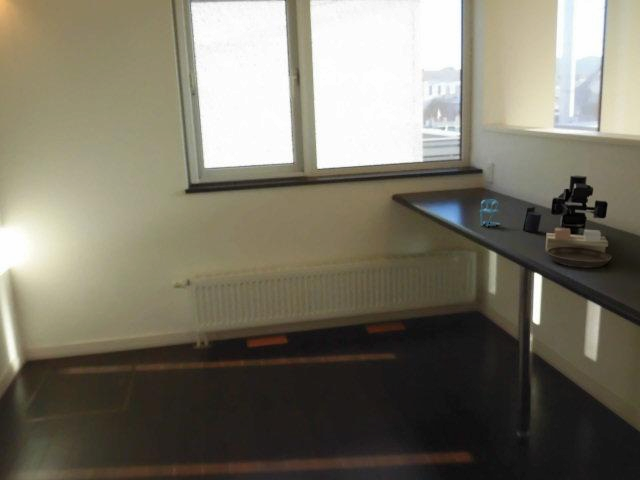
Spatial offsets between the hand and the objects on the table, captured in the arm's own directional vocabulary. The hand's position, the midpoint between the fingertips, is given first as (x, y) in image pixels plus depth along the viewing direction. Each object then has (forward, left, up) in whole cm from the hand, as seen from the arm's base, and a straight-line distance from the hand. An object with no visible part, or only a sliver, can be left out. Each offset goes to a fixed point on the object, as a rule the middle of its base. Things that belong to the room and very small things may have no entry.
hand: (581, 212), depth 210 cm
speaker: (-44, -14, -17) cm, 49 cm away
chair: (-52, -33, -17) cm, 64 cm away
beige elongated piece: (-6, 0, -16) cm, 17 cm away
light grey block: (-4, +5, -10) cm, 12 cm away
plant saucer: (+7, 0, -17) cm, 18 cm away
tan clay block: (-4, -5, -10) cm, 12 cm away
